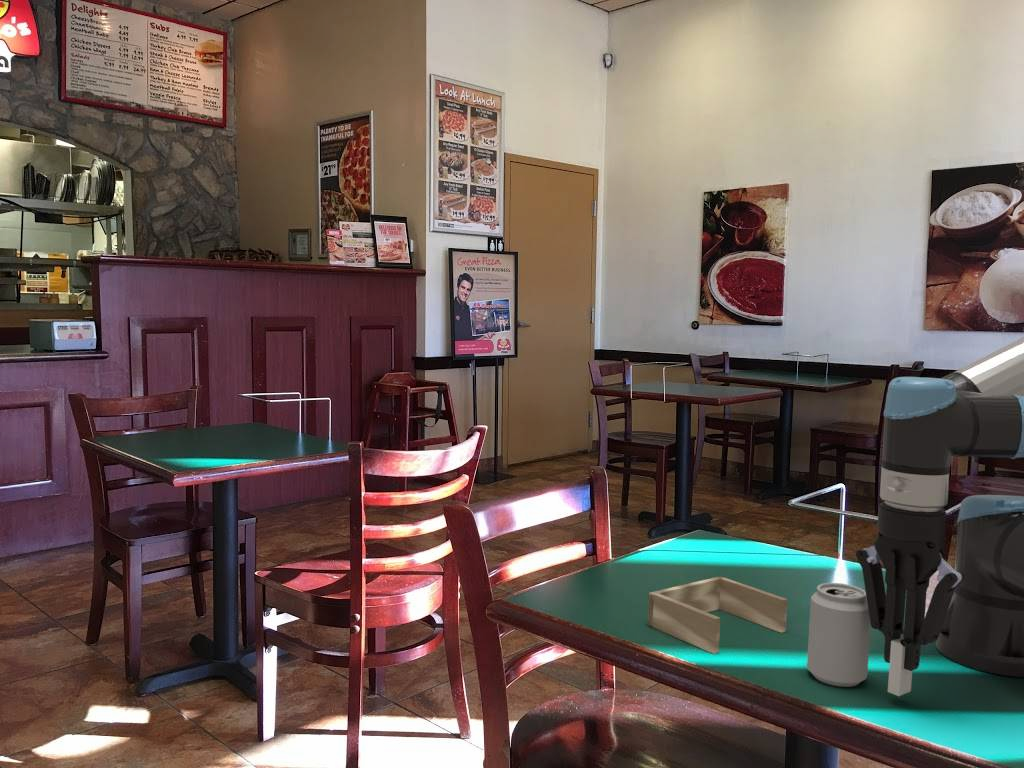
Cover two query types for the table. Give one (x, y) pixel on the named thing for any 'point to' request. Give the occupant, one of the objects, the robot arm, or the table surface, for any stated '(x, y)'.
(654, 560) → the table surface
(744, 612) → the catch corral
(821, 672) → the can
